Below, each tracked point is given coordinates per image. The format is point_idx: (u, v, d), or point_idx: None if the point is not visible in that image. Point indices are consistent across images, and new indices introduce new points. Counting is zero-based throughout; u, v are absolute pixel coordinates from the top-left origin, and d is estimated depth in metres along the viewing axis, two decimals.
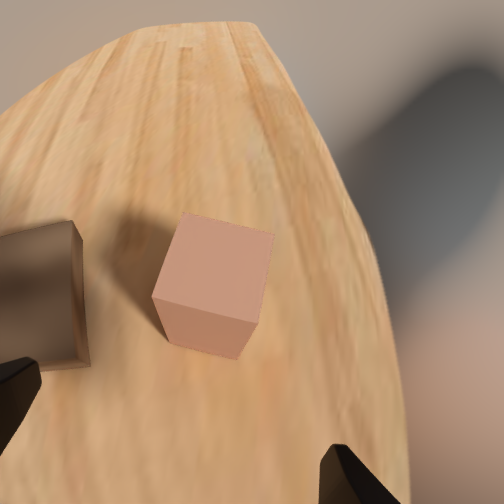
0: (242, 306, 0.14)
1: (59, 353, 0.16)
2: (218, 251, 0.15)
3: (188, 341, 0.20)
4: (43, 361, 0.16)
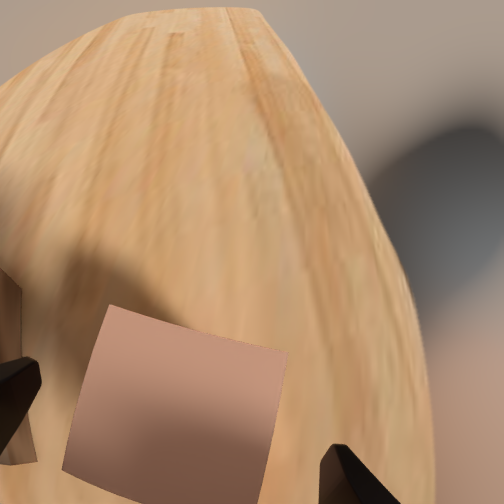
0: (223, 501, 0.06)
1: None
2: (174, 395, 0.07)
3: None
4: None
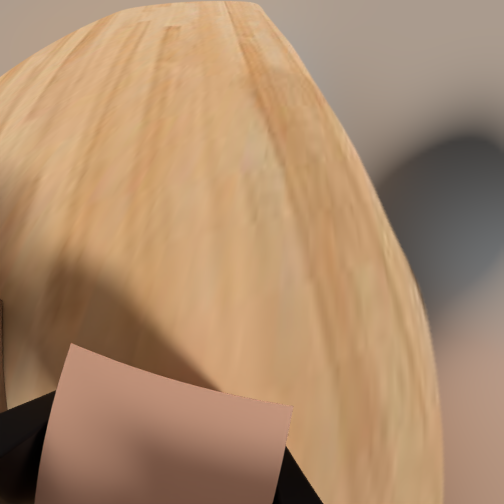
0: None
1: None
2: (151, 458, 0.05)
3: None
4: None
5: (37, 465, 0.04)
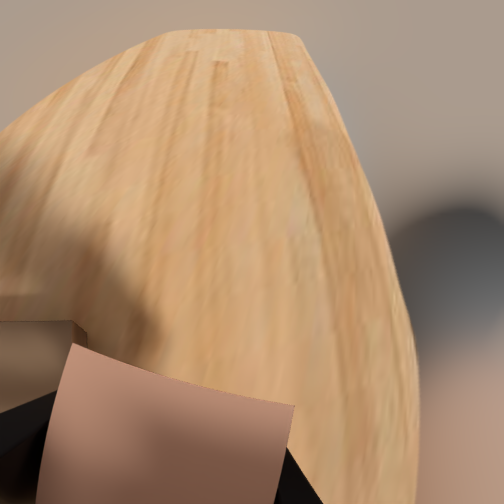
0: None
1: None
2: (152, 458, 0.05)
3: None
4: None
5: (37, 465, 0.04)
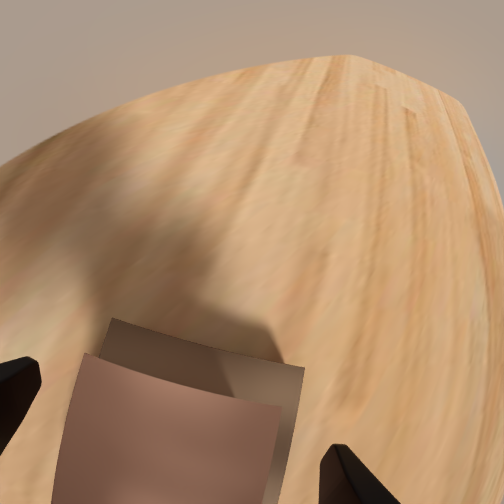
0: None
1: None
2: (157, 453, 0.06)
3: None
4: None
5: None
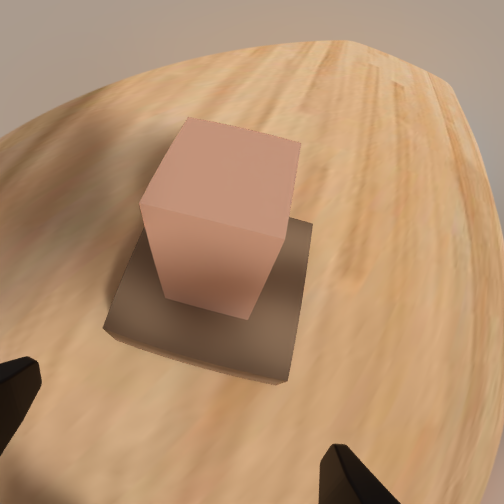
0: (263, 217, 0.10)
1: (268, 369, 0.16)
2: (230, 154, 0.11)
3: (187, 291, 0.16)
4: (242, 371, 0.16)
5: None
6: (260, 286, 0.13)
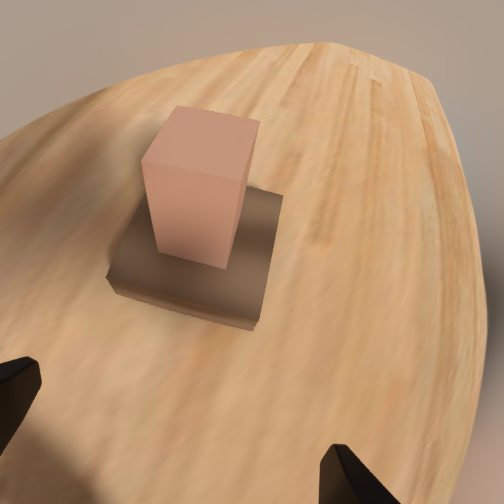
0: (226, 167, 0.14)
1: (242, 308, 0.20)
2: (206, 129, 0.16)
3: (176, 241, 0.20)
4: (220, 310, 0.20)
5: None
6: (230, 228, 0.17)
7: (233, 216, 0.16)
